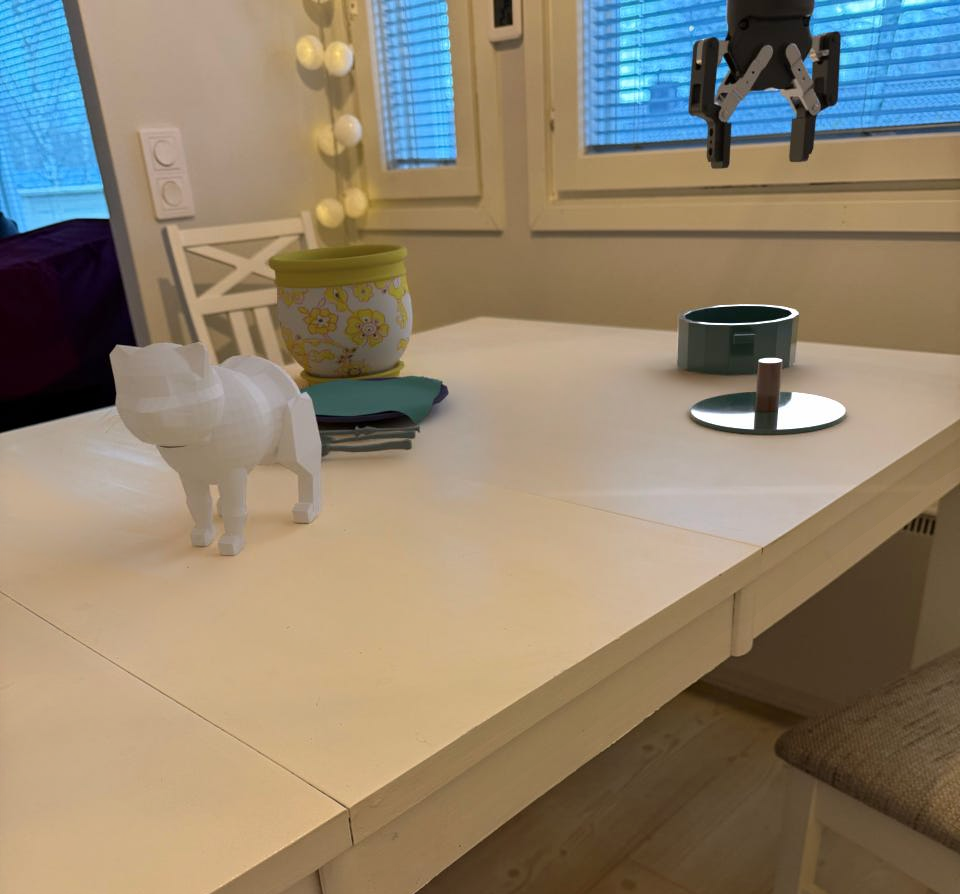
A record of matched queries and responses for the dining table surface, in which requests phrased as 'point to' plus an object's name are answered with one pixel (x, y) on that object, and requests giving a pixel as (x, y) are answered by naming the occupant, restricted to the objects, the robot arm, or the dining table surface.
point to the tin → (735, 338)
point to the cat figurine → (219, 428)
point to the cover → (768, 407)
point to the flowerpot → (344, 310)
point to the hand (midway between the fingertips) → (759, 165)
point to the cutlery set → (373, 408)
